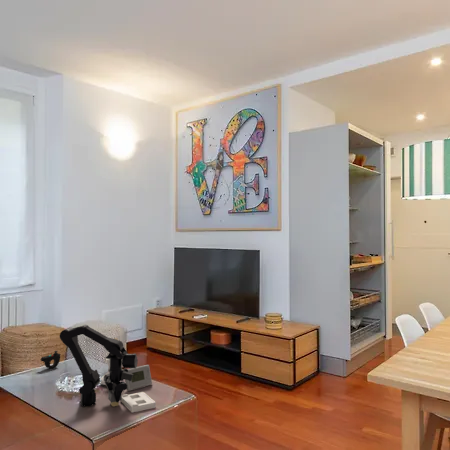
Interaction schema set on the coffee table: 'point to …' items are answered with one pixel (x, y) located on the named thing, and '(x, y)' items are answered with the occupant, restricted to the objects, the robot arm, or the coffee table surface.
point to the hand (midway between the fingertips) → (114, 399)
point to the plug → (113, 398)
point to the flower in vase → (108, 368)
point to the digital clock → (139, 377)
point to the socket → (138, 402)
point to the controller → (49, 358)
